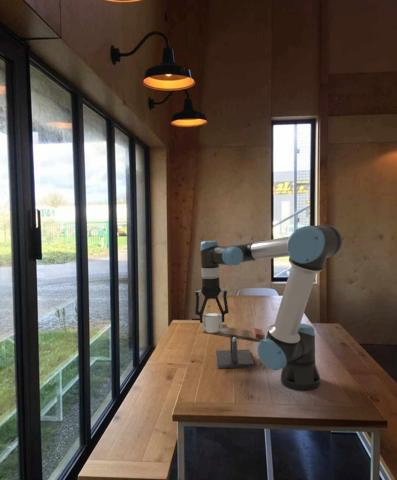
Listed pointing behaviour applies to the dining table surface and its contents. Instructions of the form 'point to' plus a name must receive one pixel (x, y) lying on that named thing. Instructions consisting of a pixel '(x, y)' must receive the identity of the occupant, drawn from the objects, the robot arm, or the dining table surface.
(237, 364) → the stand
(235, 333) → the beam
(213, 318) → the shot glass
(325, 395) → the dining table surface
